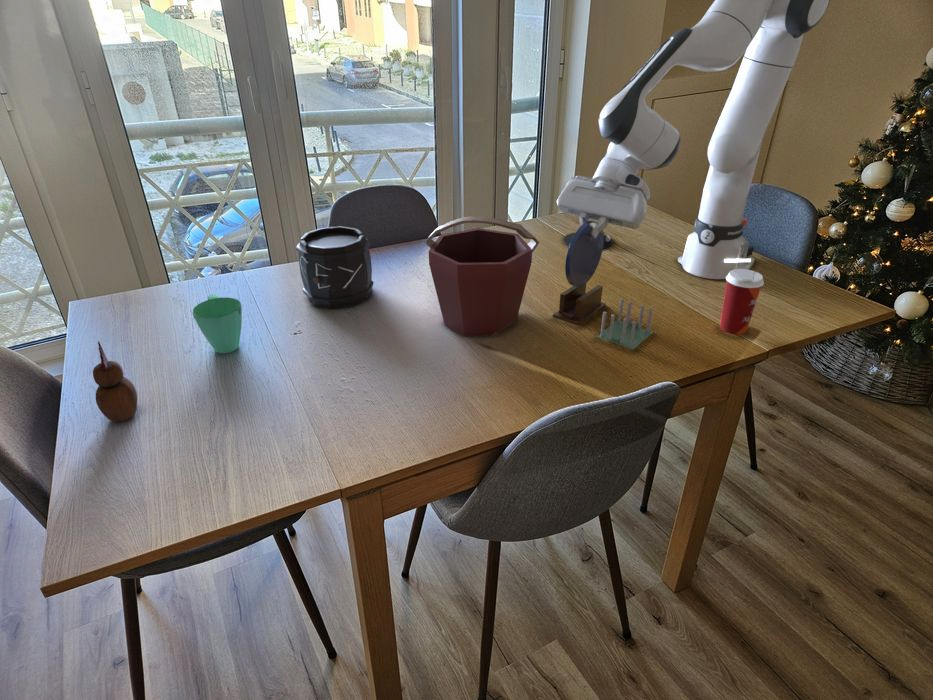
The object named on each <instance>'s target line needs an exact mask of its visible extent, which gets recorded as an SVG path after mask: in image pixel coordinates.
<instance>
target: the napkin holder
mask: <svg viewBox="0 0 933 700" xmlns="http://www.w3.org/2000/svg"><path fill="white" fill-rule="evenodd" d="M603 286H604V285H600V284H597V285H596V286H595V287H593V288H592V289H590V290H588V291H587V283H586V284H585V285H583V286H581V287H576V286H573V285H571V287H569V288H568V289H566V290H565V291H563V292H561V293H560V295H559V307H558V310H557V311H556V312H555V313H553V314H552V317H553V318H556V319H558V320H562V321H564V322H568V323H571V324H572V325H573V324H574V325H577V326H581V324H583V323H584V322H585V321H587V320H588V319H590V318H591V317H593V316H594V315H595V314H597V313H598V312H600V311H601V310H603V308H605V307H606V306H607V303H606V302H602V297H603V290H604V289H603V288H604V287H603ZM586 291H587V292H586Z"/></svg>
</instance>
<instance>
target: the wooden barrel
mask: <svg viewBox="0 0 933 700" xmlns="http://www.w3.org/2000/svg"><path fill="white" fill-rule="evenodd" d="M369 246H370V240H369V239H368V237H366V236H365V233H364V232H362V231H361V230H359V229H358V228H355V227H349V226H341V225H338V226H328V227H327V226H326V227H319V228H316V229H314V230H310V231H308V232H307V231H306V232H305V233H304V234H303V236H302V237H300V239H299V243H298V244H297V245H296V247H295V251H296V252H298V267H299V272H300V278H301V281H302V285H303V288H302V293H303V294H304V295H305V297H307V298H308V300H309V301H310V302H311V303H312V304H313V305H314V306H316V307H321V308H326V309H331V310H332V309H333V310H334V309H341V308H349V307H353V306H356V305H357V304H361V303H362V302H364V301H367V299H368V297H369V296H370V293H371V290H372V289H373V287H374V281H373V279H372V277H373V276H372V275H373V267H372V257H371V251H370V247H369Z"/></svg>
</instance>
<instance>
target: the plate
mask: <svg viewBox="0 0 933 700" xmlns="http://www.w3.org/2000/svg"><path fill="white" fill-rule="evenodd" d="M598 222H599V221H595V220H588V221H587V222H585V223H584V224H582V225H581V226H580V225H579V227H580V228H579V227H578V229H577V230H576V232H574V233H575V235H574V237H573V239H572V241H571V243H570V246H568V249H567V253H566V257H565V266H564V270H565V278H566V280H567V283H568V284H569V285H571V286H576V287H581V286H583V285H585V284H586V285H587V283H588V282H589V281H590V280H591V278H592V277H593V276H594V274H595V272H596V270H597V269H598V267H599V264H600V260H601V258H602V254H603V250H604V249H603V241H604V236H603V235H604V234H603V232H604V229H603V230H602V231H600V232H599V233H598V235H597V237H596V238H592V237H589V235H588V232H589V231H590V228H591V227H595V226H597V225H598V224H599V223H598Z"/></svg>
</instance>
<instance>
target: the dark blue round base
mask: <svg viewBox="0 0 933 700" xmlns="http://www.w3.org/2000/svg"><path fill="white" fill-rule="evenodd" d="M597 222H598V223H600V221H597ZM575 233H576V232H573V233H570V234H569V233H568V234H567V235H565V236H564V237H563V243H564V244H565V245H566V246H567V247H569V246H570V243H571V241H572V239H573V237H574V235H575ZM603 236H604V241H603V250H606V249H609V248H611V247H612V246H613V244H614V241H613V239H612V238H611V237H610V236H609V235H608V234H607V235H606V234H605V232H604V231H603Z"/></svg>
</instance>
